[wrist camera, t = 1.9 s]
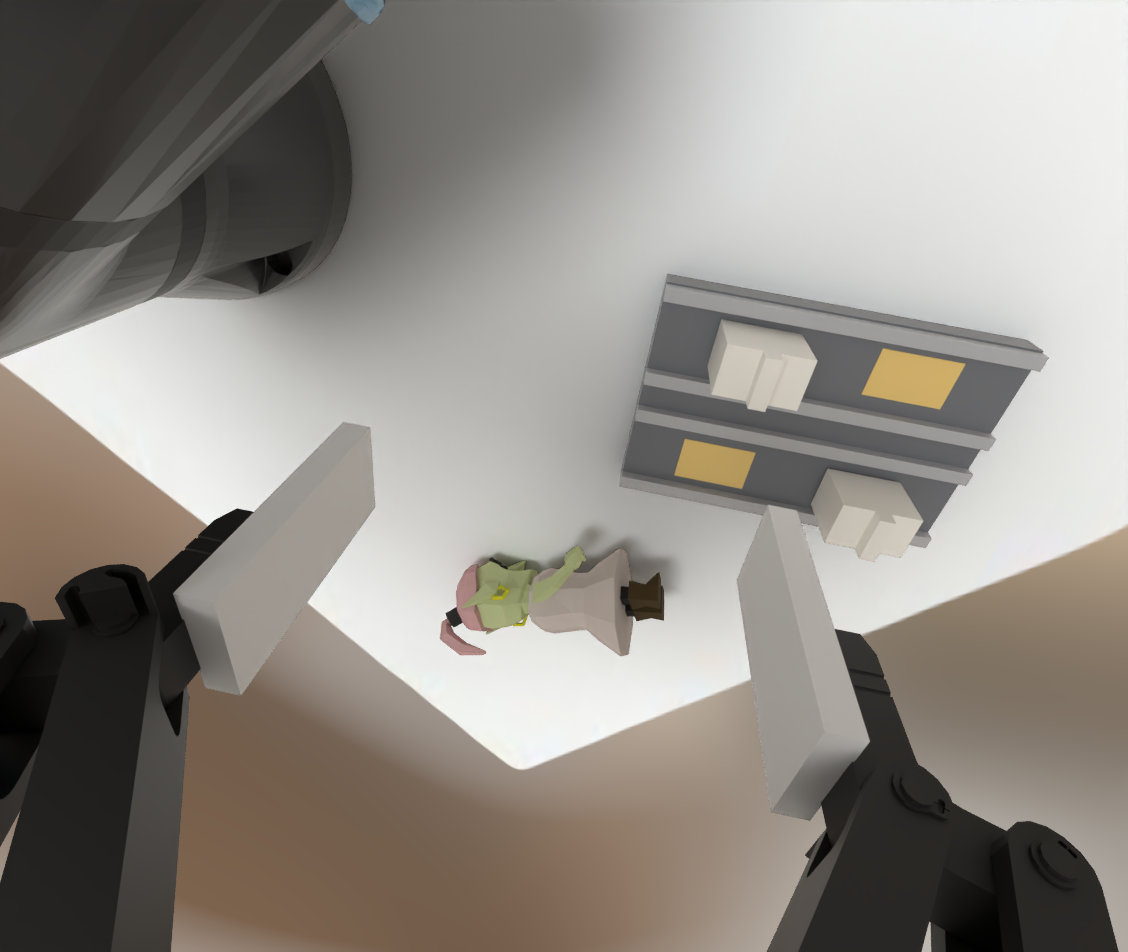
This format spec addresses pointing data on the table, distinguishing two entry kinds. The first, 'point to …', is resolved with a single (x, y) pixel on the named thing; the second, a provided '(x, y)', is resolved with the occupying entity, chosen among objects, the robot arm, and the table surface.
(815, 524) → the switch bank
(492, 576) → the figurine
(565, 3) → the table surface
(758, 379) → the tab
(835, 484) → the tab
